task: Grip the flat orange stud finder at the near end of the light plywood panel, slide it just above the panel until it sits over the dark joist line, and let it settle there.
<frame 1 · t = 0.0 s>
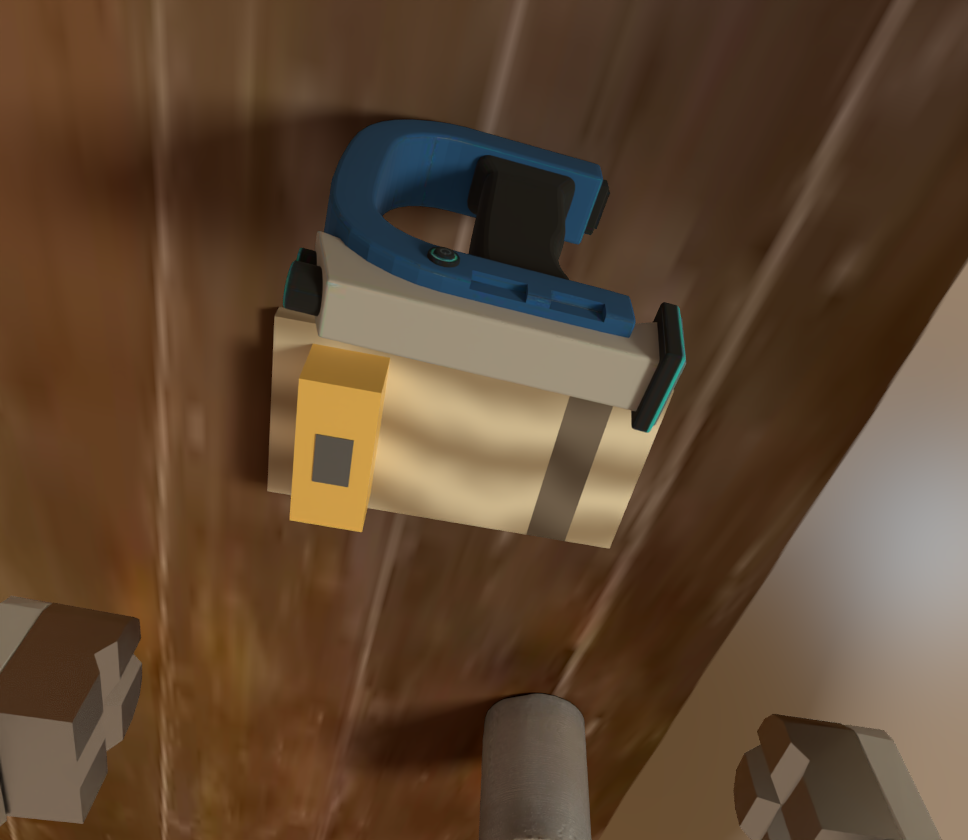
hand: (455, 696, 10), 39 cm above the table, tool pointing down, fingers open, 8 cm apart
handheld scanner: (499, 169, 46), on the table
pillar candle: (533, 719, 78), on the table
stud finder: (343, 423, 55), point 1 cm above the table, touching plywood panel
plywood panel: (459, 433, 57), on the table
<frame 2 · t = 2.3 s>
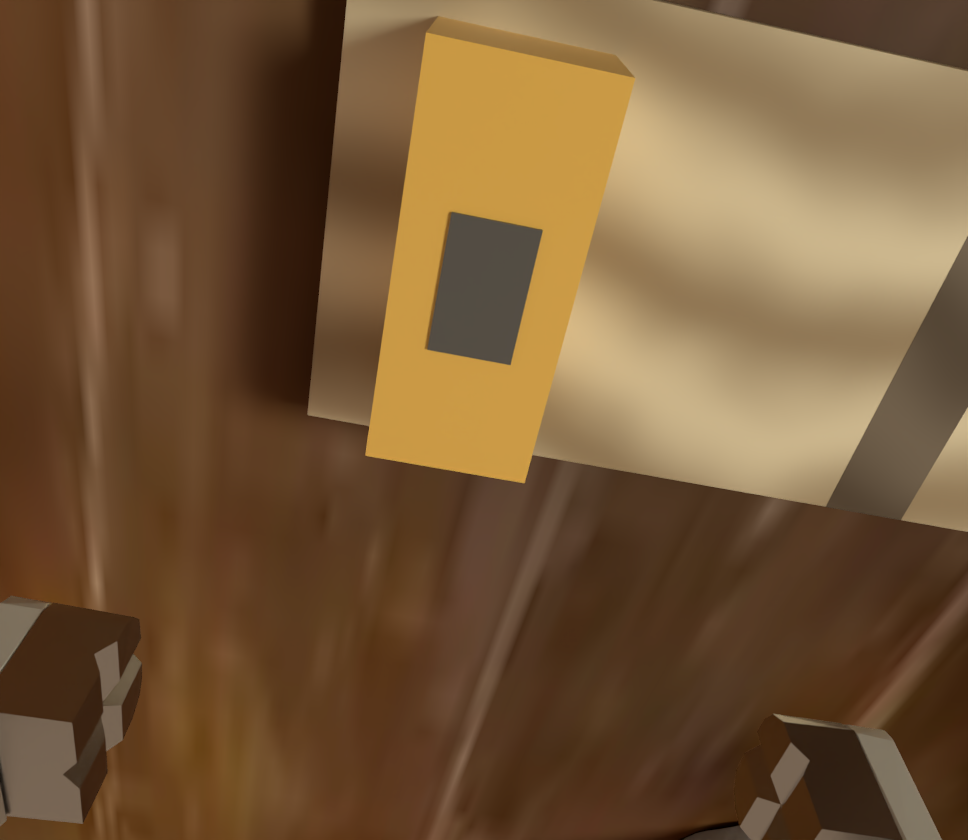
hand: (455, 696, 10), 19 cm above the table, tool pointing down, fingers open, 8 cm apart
stud finder: (485, 242, 25), point 1 cm above the table, touching plywood panel
plywood panel: (721, 276, 27), on the table
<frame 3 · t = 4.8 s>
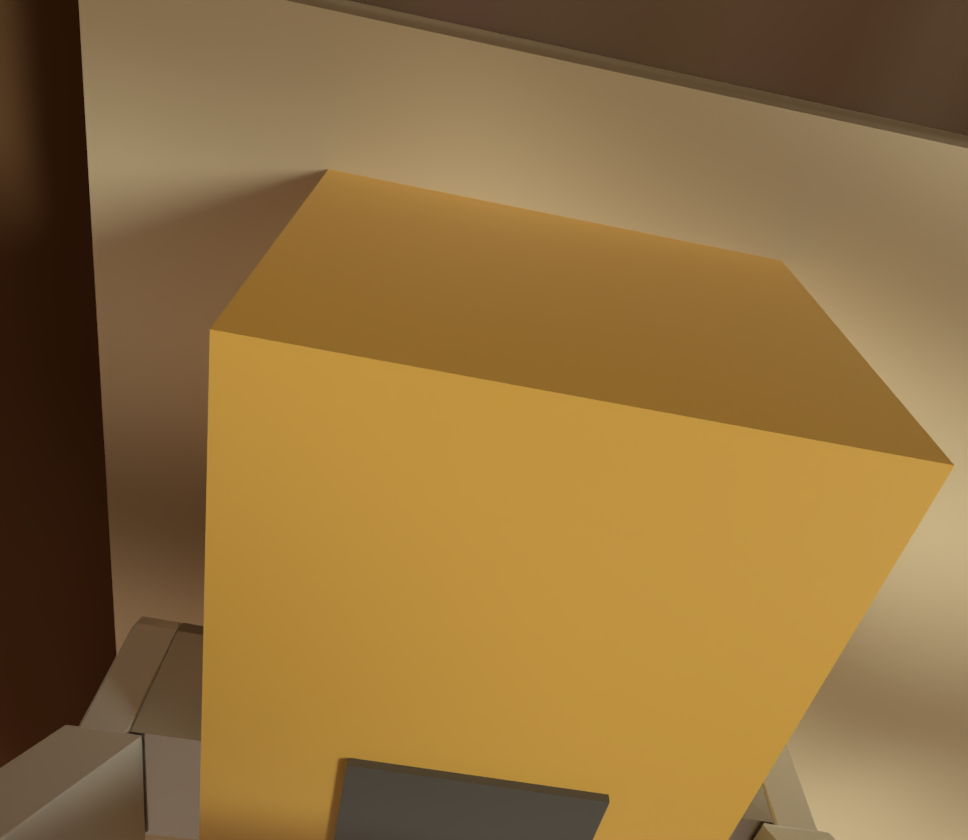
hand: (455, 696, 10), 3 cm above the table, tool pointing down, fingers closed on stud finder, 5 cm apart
stud finder: (461, 614, 12), point 1 cm above the table, touching gripper, plywood panel
plywood panel: (937, 637, 13), on the table
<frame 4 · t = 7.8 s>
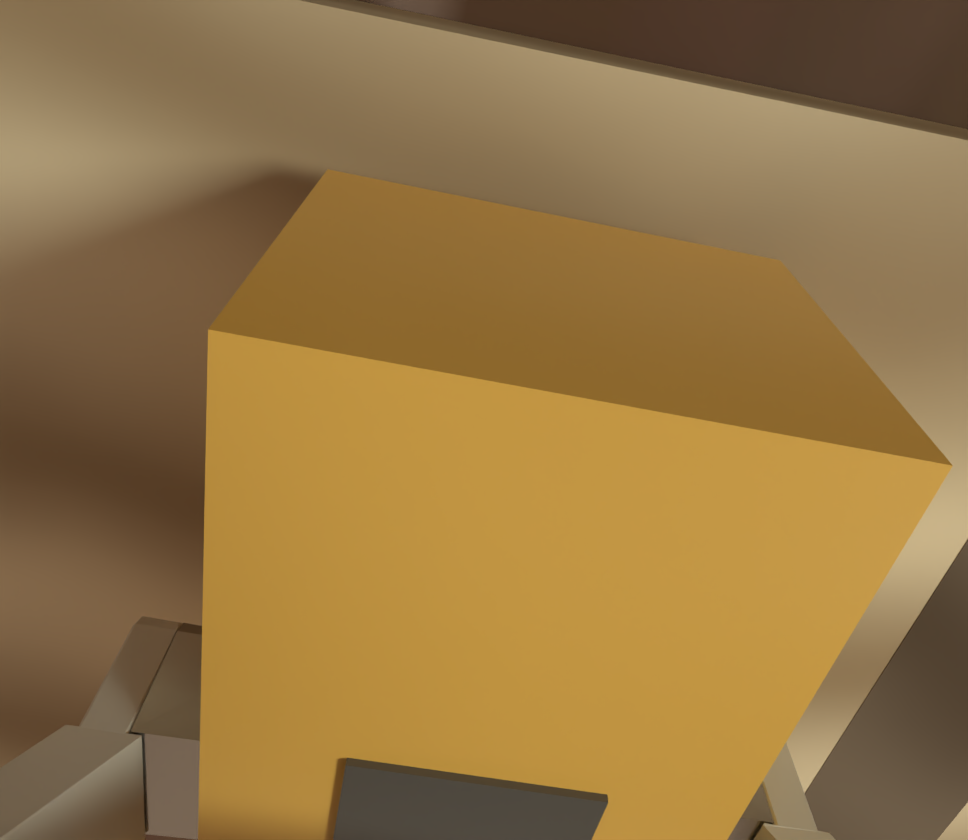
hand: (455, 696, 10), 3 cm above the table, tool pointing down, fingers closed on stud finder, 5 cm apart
stud finder: (460, 614, 12), point 2 cm above the table, touching gripper
plywood panel: (500, 536, 13), on the table
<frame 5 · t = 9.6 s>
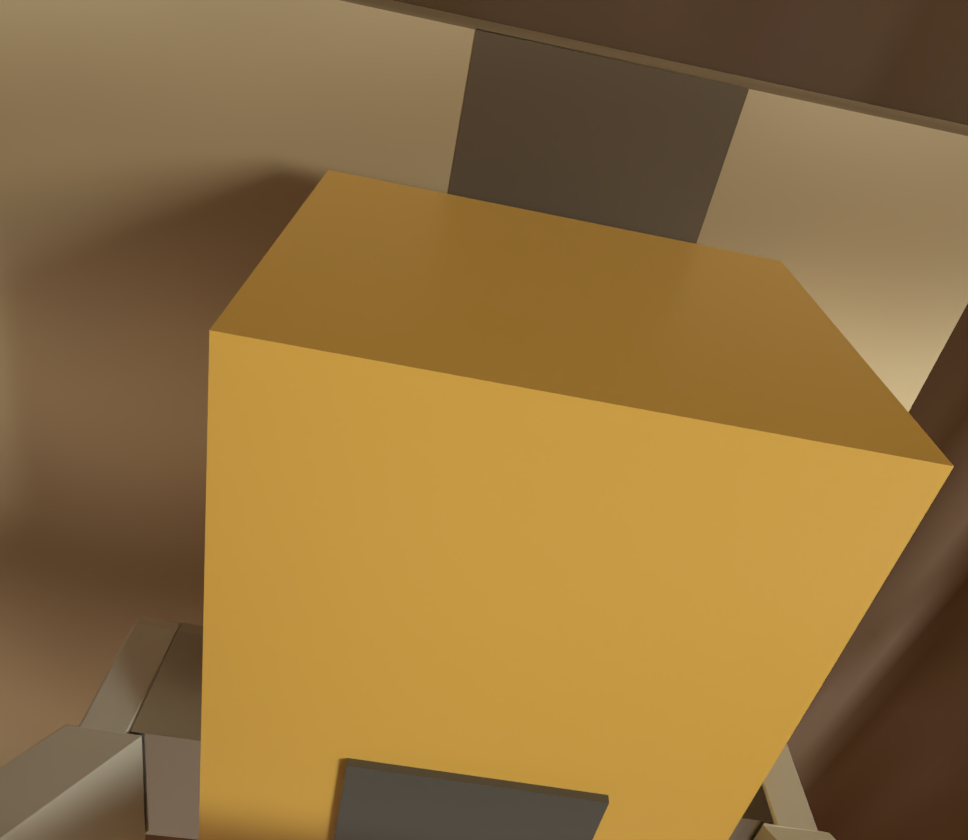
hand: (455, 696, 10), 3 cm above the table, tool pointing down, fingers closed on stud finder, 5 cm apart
stud finder: (460, 615, 12), point 2 cm above the table, touching gripper
when the fingers open (3 cm above the table, at t = 11.1 s): stud finder stays where it is, resting on plywood panel.
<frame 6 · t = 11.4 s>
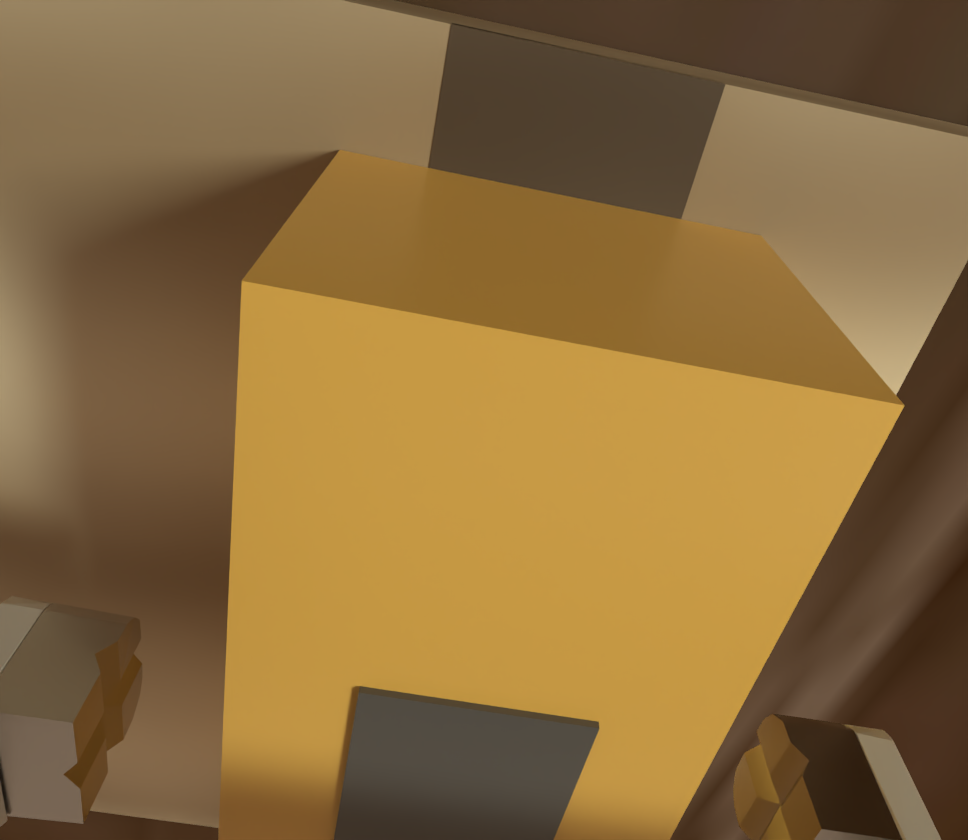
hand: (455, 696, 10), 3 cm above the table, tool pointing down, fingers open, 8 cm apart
stud finder: (462, 576, 12), point 1 cm above the table, touching plywood panel
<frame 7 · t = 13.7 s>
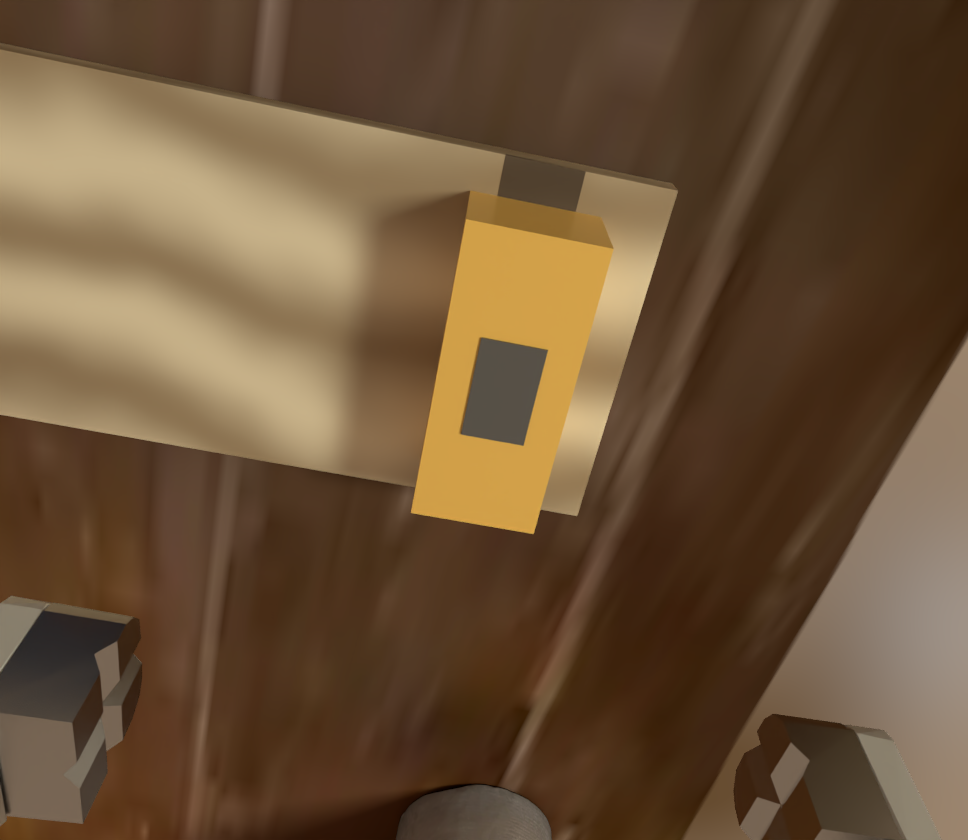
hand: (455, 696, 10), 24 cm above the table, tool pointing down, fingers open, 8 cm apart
pillar candle: (473, 829, 50), on the table
stud finder: (503, 348, 33), point 1 cm above the table, touching plywood panel
plywood panel: (314, 300, 34), on the table
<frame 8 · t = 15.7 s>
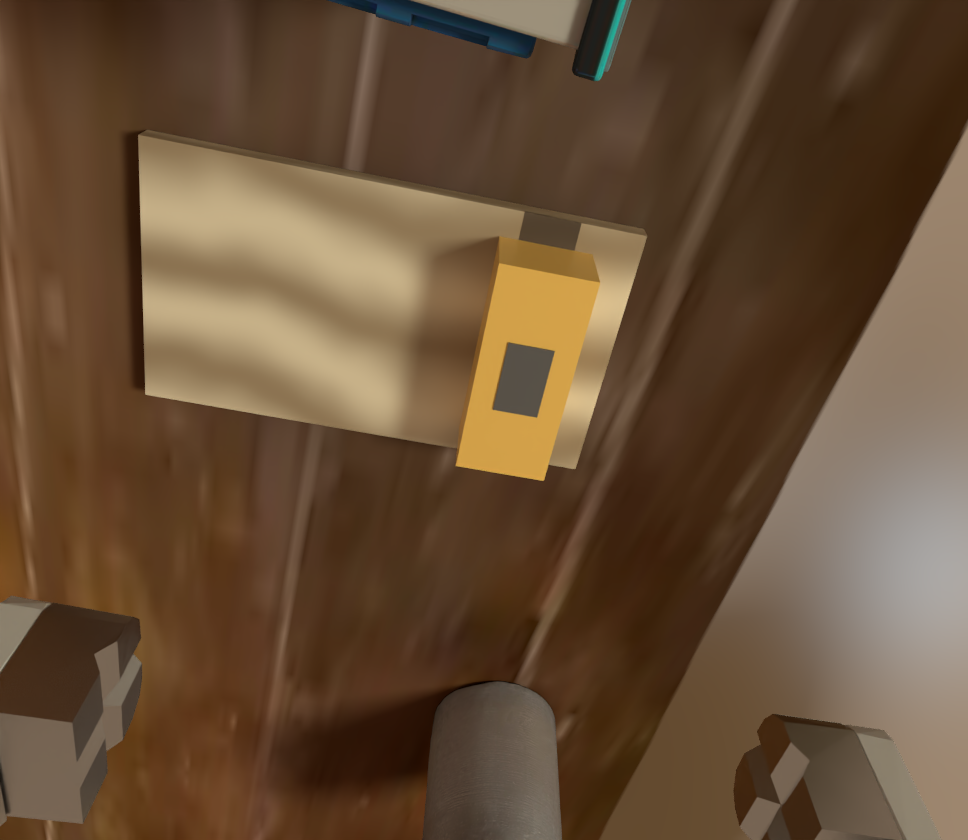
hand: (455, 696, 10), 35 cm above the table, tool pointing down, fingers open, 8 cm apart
pillar candle: (493, 718, 64), on the table
stud finder: (521, 346, 45), point 1 cm above the table, touching plywood panel
plywood panel: (383, 311, 46), on the table
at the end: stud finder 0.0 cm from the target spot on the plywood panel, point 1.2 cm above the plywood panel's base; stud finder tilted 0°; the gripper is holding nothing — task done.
